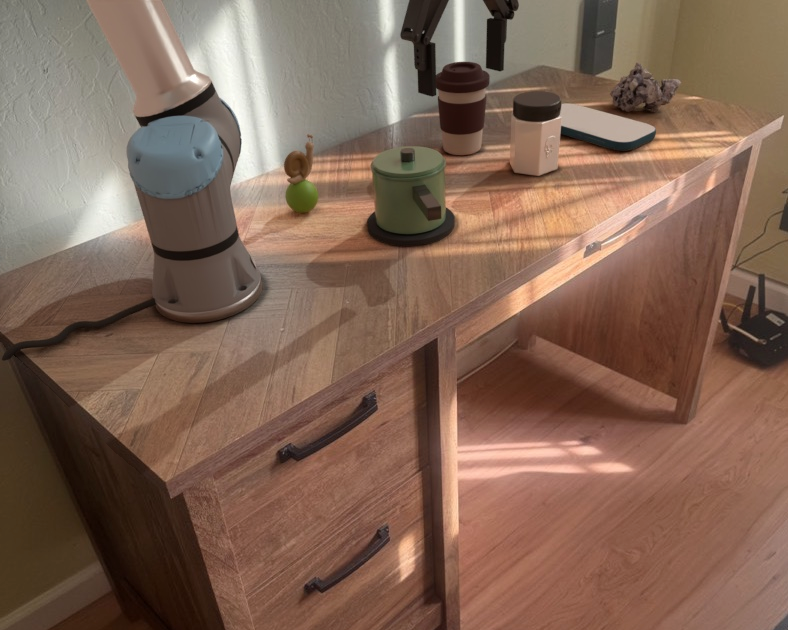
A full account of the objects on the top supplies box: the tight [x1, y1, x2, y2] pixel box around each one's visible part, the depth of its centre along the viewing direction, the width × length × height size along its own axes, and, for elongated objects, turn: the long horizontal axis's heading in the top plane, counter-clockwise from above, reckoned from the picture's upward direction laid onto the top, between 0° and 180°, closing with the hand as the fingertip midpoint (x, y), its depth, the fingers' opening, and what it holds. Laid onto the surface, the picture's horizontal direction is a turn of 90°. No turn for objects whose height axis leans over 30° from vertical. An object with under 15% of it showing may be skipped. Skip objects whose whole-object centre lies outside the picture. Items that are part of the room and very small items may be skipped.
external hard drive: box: [560, 102, 657, 152], centre depth 148 cm, size 24×12×2 cm, turn 40°
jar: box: [509, 90, 562, 177], centre depth 134 cm, size 9×8×12 cm
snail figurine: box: [283, 133, 319, 214], centre depth 125 cm, size 5×6×12 cm
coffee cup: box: [436, 61, 491, 156], centre depth 141 cm, size 10×10×15 cm
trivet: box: [366, 207, 456, 247], centre depth 122 cm, size 14×14×1 cm
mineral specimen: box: [609, 61, 682, 113], centre depth 155 cm, size 12×9×10 cm
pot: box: [369, 145, 447, 234], centre depth 115 cm, size 12×19×11 cm, turn 15°
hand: (462, 81), depth 106 cm, fingers open, 13 cm apart
